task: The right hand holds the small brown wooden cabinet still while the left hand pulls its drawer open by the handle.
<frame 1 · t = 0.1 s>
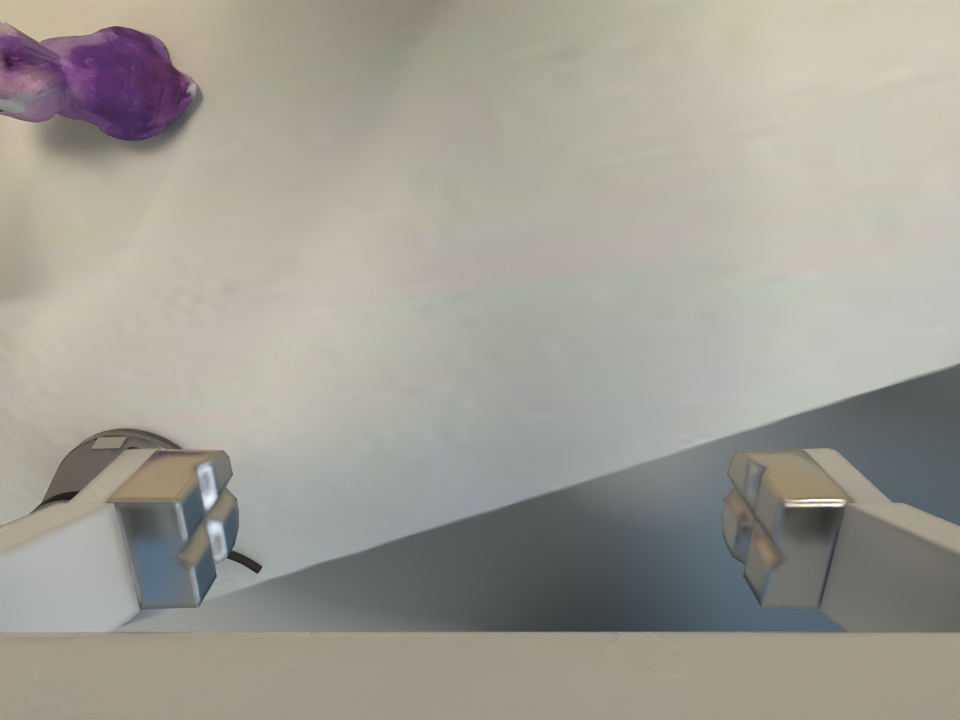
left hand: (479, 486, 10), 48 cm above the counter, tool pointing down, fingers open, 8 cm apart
figurine: (130, 89, 52), on the counter
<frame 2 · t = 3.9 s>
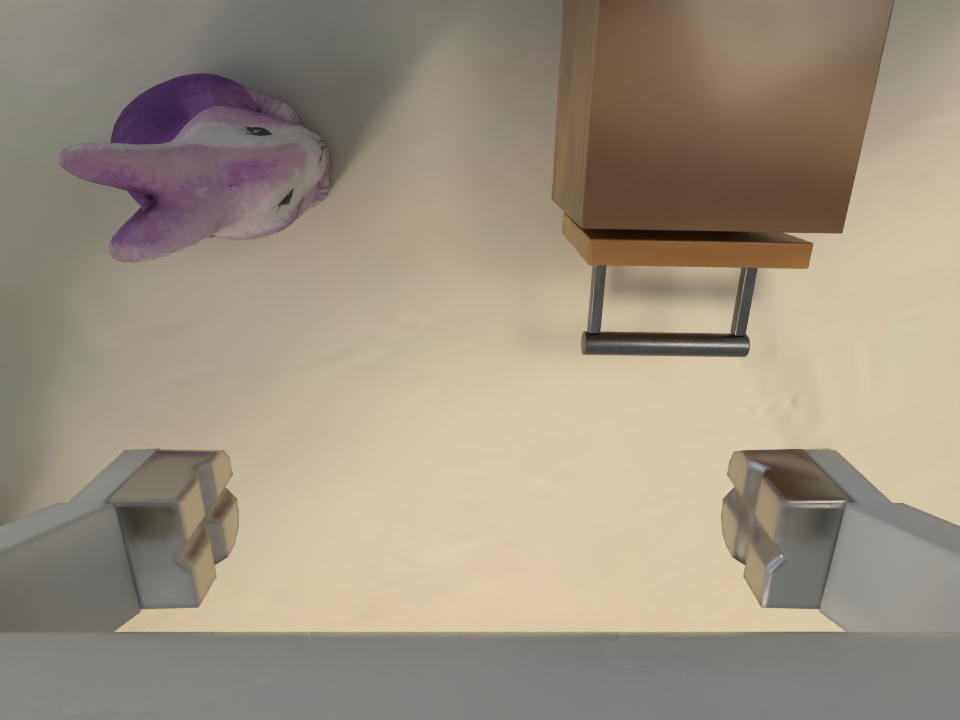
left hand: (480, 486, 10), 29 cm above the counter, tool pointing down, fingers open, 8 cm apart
cabinet: (669, 9, 34), on the counter, touching right hand
drawer: (688, 114, 30), point 5 cm above the counter, slide at 0.6 cm
figurine: (254, 153, 36), on the counter
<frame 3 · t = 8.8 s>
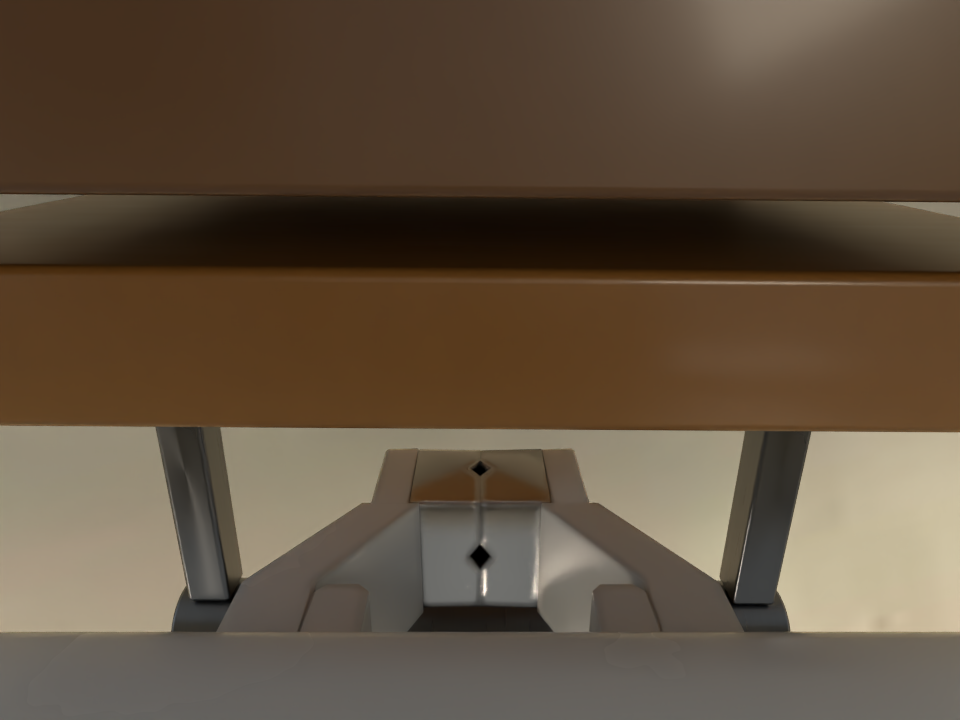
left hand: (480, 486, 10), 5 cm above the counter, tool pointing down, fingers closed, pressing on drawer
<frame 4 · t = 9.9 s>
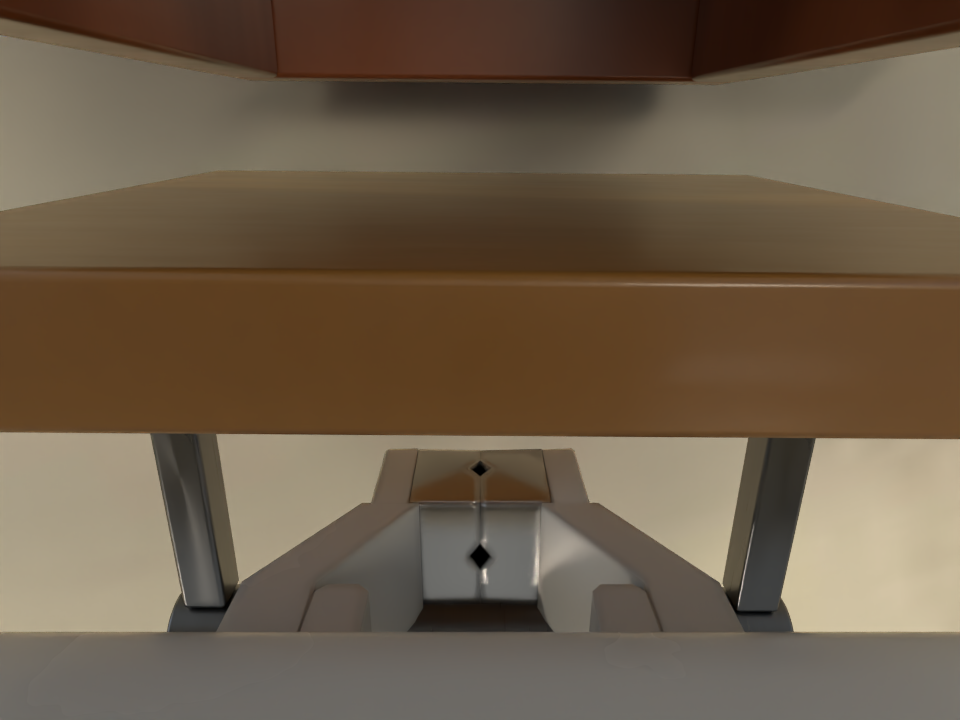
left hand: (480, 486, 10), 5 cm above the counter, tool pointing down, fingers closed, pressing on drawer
when the right hand's fingers open (6 cm above the counter, at t = 11.9 s): cabinet stays where it is, on the counter.
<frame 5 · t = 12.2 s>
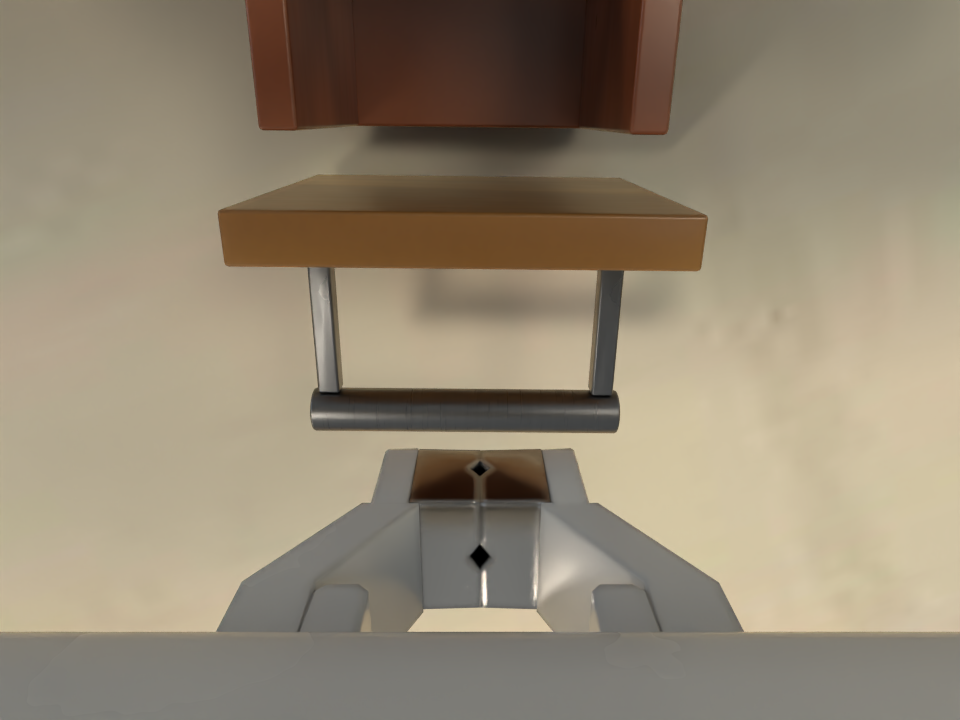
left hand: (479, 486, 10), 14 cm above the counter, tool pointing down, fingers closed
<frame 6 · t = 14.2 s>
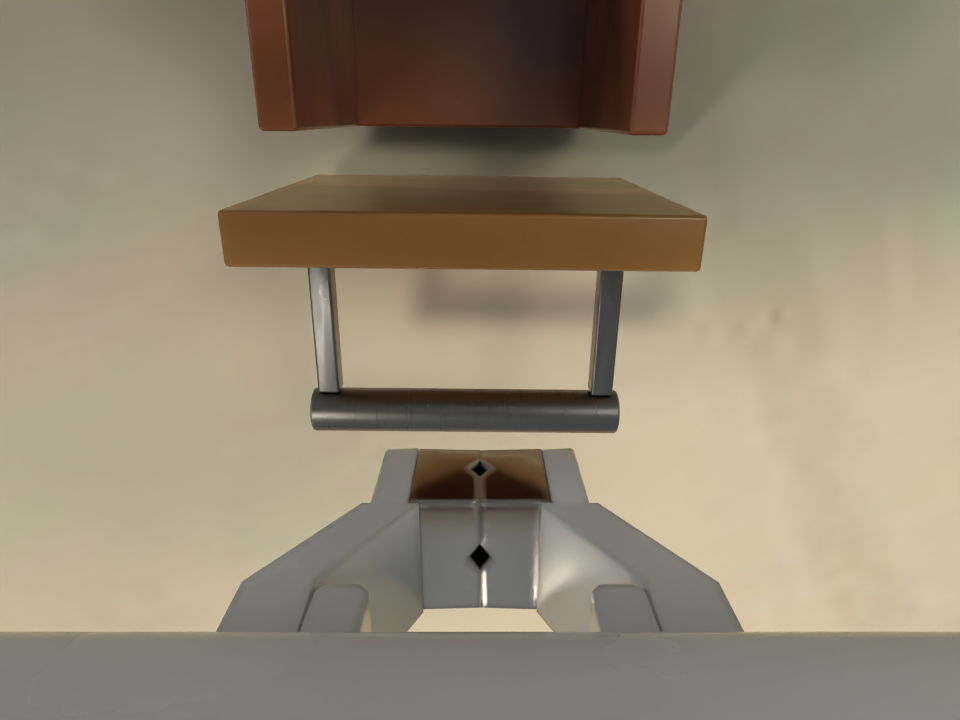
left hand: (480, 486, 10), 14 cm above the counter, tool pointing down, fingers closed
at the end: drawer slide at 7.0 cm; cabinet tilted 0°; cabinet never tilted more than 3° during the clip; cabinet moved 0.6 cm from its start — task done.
